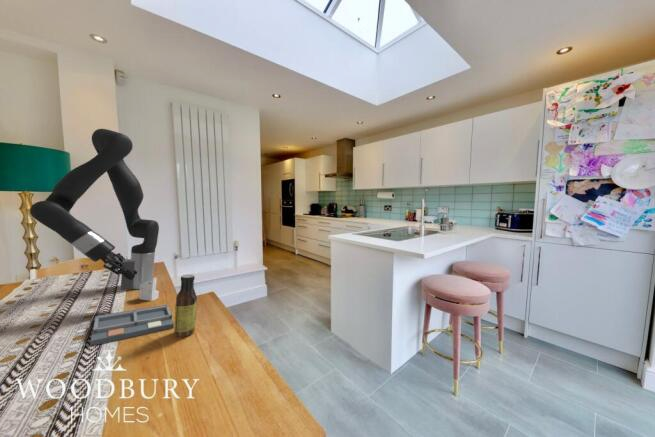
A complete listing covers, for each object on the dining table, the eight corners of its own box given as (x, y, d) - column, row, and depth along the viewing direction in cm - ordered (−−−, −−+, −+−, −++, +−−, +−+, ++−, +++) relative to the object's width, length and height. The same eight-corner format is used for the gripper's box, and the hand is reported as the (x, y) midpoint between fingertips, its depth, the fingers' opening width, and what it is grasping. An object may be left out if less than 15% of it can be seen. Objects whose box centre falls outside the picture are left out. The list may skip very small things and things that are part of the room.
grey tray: (95, 320, 81) (95, 312, 81) (165, 308, 95) (166, 301, 95) (90, 346, 68) (90, 336, 68) (173, 328, 82) (174, 320, 82)
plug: (120, 287, 91) (123, 255, 91) (132, 285, 94) (135, 255, 93) (120, 290, 88) (122, 257, 88) (132, 288, 91) (135, 257, 90)
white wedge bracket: (161, 296, 100) (153, 278, 100) (141, 305, 101) (134, 286, 101) (167, 293, 103) (160, 276, 104) (149, 302, 104) (141, 284, 105)
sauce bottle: (198, 331, 81) (203, 276, 80) (181, 340, 75) (186, 280, 75) (186, 326, 84) (191, 272, 83) (168, 333, 78) (173, 275, 77)
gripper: (98, 242, 80) (140, 274, 87) (109, 235, 92) (145, 264, 99) (75, 258, 78) (120, 289, 85) (90, 249, 90) (128, 277, 97)
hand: (134, 276), depth 92 cm, fingers closed on plug, 4 cm apart
